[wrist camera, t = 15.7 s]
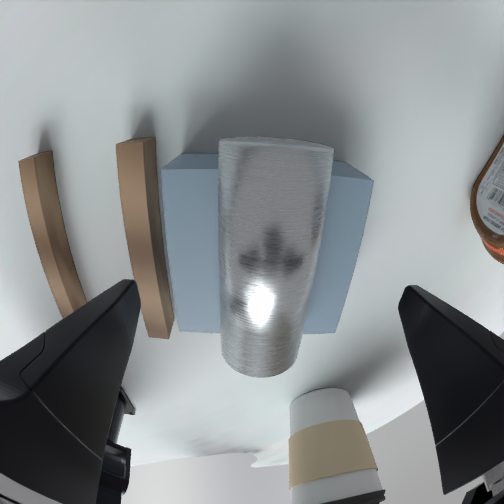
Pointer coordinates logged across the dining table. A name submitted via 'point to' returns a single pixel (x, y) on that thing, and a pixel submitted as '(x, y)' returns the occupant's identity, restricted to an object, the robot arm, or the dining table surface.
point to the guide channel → (135, 221)
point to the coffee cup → (330, 452)
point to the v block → (206, 242)
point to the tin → (490, 204)
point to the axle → (268, 246)
